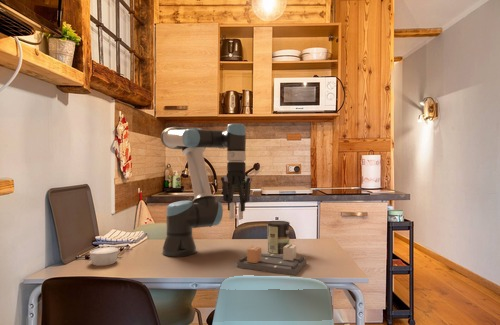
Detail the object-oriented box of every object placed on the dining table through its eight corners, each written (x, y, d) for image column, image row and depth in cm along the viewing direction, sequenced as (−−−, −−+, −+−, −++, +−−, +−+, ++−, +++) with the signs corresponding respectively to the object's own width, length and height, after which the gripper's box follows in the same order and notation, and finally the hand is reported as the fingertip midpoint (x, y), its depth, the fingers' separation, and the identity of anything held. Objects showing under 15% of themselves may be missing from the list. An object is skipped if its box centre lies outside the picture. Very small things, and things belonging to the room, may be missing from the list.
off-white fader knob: (283, 259, 139) (283, 246, 139) (286, 256, 143) (287, 244, 143) (292, 260, 137) (292, 247, 137) (296, 257, 142) (296, 245, 142)
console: (236, 267, 136) (236, 259, 136) (253, 256, 151) (253, 250, 151) (294, 275, 126) (294, 267, 126) (306, 263, 141) (306, 256, 141)
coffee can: (290, 250, 162) (290, 220, 162) (288, 256, 151) (288, 224, 151) (268, 249, 164) (268, 220, 164) (265, 255, 154) (265, 223, 153)
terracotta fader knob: (247, 261, 135) (247, 248, 135) (252, 258, 140) (252, 246, 140) (256, 263, 134) (256, 249, 134) (261, 259, 138) (261, 247, 138)
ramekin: (90, 260, 145) (90, 248, 145) (118, 258, 149) (118, 245, 149) (88, 268, 135) (88, 254, 135) (118, 265, 139) (118, 252, 139)
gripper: (214, 161, 140) (214, 218, 140) (250, 161, 133) (250, 221, 133) (223, 161, 147) (223, 216, 147) (258, 161, 140) (258, 218, 140)
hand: (236, 218), depth 140 cm, fingers open, 3 cm apart
